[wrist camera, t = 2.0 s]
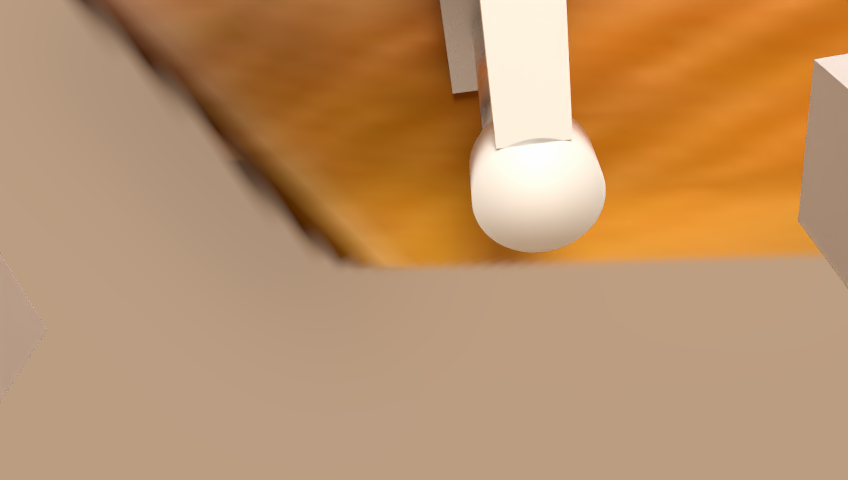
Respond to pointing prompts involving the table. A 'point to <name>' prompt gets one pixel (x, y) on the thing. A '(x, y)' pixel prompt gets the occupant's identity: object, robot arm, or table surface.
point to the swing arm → (532, 134)
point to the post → (466, 51)
